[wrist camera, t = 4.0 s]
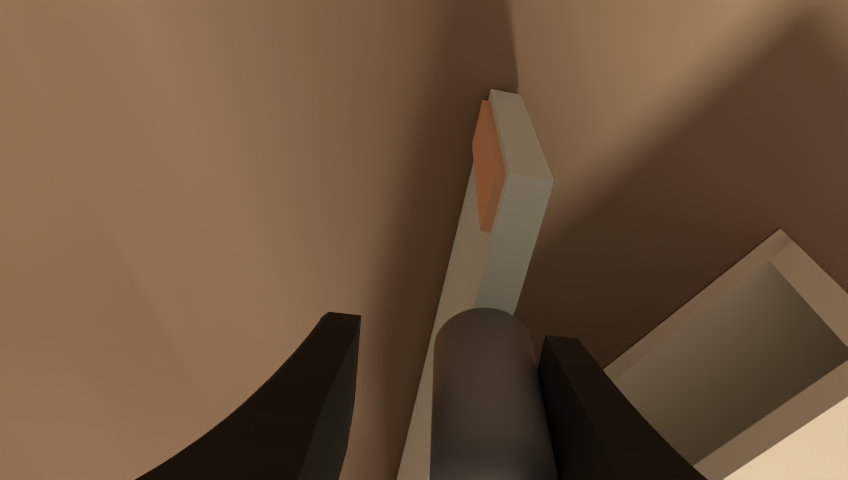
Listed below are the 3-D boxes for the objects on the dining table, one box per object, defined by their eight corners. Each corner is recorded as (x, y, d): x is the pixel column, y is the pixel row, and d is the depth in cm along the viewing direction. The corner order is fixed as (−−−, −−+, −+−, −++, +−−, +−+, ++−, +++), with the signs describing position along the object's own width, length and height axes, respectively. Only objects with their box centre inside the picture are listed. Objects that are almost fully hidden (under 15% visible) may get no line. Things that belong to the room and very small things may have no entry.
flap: (427, 516, 24) (415, 848, 16) (373, 506, 24) (331, 836, 16) (543, 99, 17) (636, 288, 9) (468, 84, 17) (487, 260, 9)
